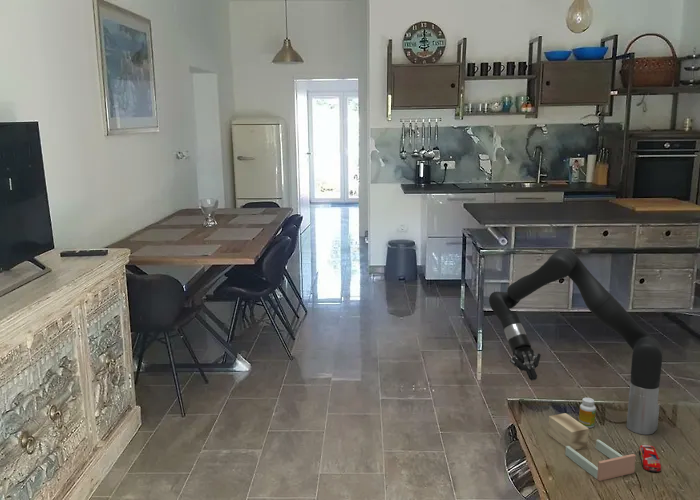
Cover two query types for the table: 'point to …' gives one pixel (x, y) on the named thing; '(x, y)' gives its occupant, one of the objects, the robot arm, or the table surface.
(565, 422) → the oak block
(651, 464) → the race car
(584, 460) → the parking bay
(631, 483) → the table surface
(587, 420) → the supplement bottle
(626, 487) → the table surface
